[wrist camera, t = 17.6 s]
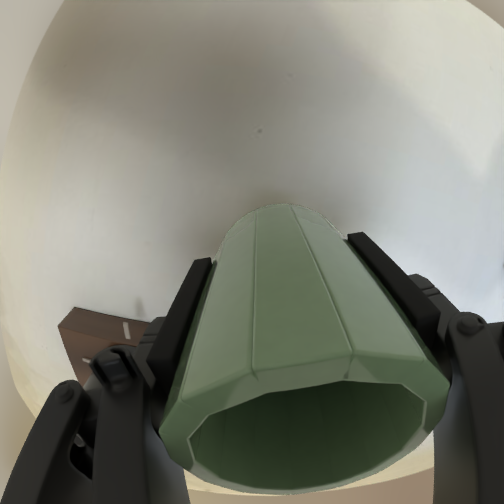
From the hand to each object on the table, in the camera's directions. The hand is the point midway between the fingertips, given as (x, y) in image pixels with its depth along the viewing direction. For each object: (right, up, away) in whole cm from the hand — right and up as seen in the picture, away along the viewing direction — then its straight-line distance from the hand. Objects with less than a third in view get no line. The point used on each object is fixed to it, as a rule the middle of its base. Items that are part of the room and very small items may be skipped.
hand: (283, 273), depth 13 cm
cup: (0, 0, 0) cm, 0 cm away
